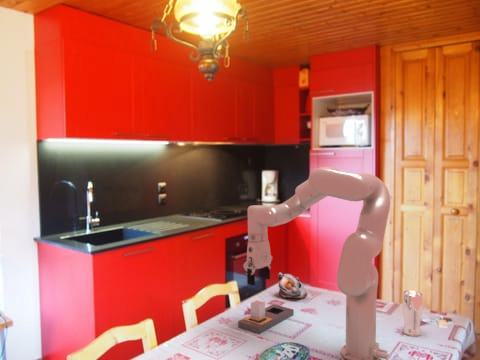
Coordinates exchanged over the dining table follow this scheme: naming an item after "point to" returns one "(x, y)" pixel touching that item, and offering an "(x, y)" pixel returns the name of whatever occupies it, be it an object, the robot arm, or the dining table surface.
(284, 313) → the hole rail
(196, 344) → the dining table surface
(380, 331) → the dining table surface
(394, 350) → the dining table surface
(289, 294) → the lucky cat figurine
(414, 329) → the beer glass
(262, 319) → the steel peg
